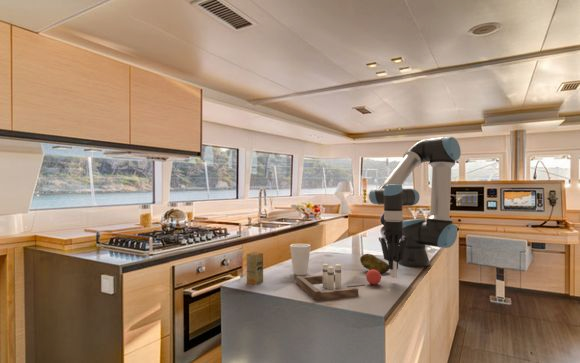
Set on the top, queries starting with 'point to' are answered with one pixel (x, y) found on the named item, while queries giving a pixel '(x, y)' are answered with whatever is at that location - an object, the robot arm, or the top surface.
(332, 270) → the pin
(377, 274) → the ball
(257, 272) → the shoe polish box
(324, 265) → the pin
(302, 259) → the foam cup
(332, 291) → the rail
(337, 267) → the front pin
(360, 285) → the thin gray bar
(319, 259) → the top surface
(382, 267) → the potato
